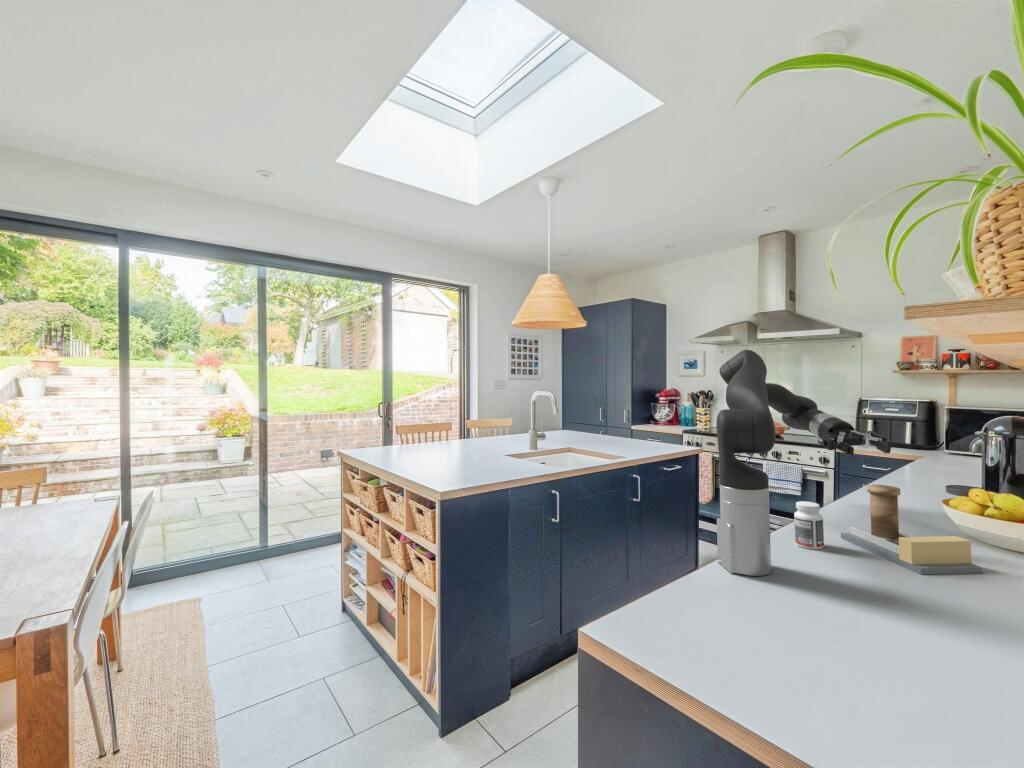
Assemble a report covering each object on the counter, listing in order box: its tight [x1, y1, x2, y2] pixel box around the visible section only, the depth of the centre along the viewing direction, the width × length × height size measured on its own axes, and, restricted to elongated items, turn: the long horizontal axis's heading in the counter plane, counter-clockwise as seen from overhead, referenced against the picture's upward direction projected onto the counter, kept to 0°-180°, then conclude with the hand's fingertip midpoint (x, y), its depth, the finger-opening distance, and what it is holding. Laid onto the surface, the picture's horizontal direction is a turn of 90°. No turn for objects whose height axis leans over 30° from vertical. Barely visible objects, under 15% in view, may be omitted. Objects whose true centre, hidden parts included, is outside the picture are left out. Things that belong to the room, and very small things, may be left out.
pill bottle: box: [793, 500, 825, 550], centre depth 106 cm, size 6×6×10 cm
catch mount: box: [840, 526, 983, 575], centre depth 100 cm, size 12×22×6 cm, turn 179°
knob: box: [866, 484, 901, 544], centre depth 105 cm, size 6×6×12 cm
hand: (870, 450), depth 112 cm, fingers open, 8 cm apart
